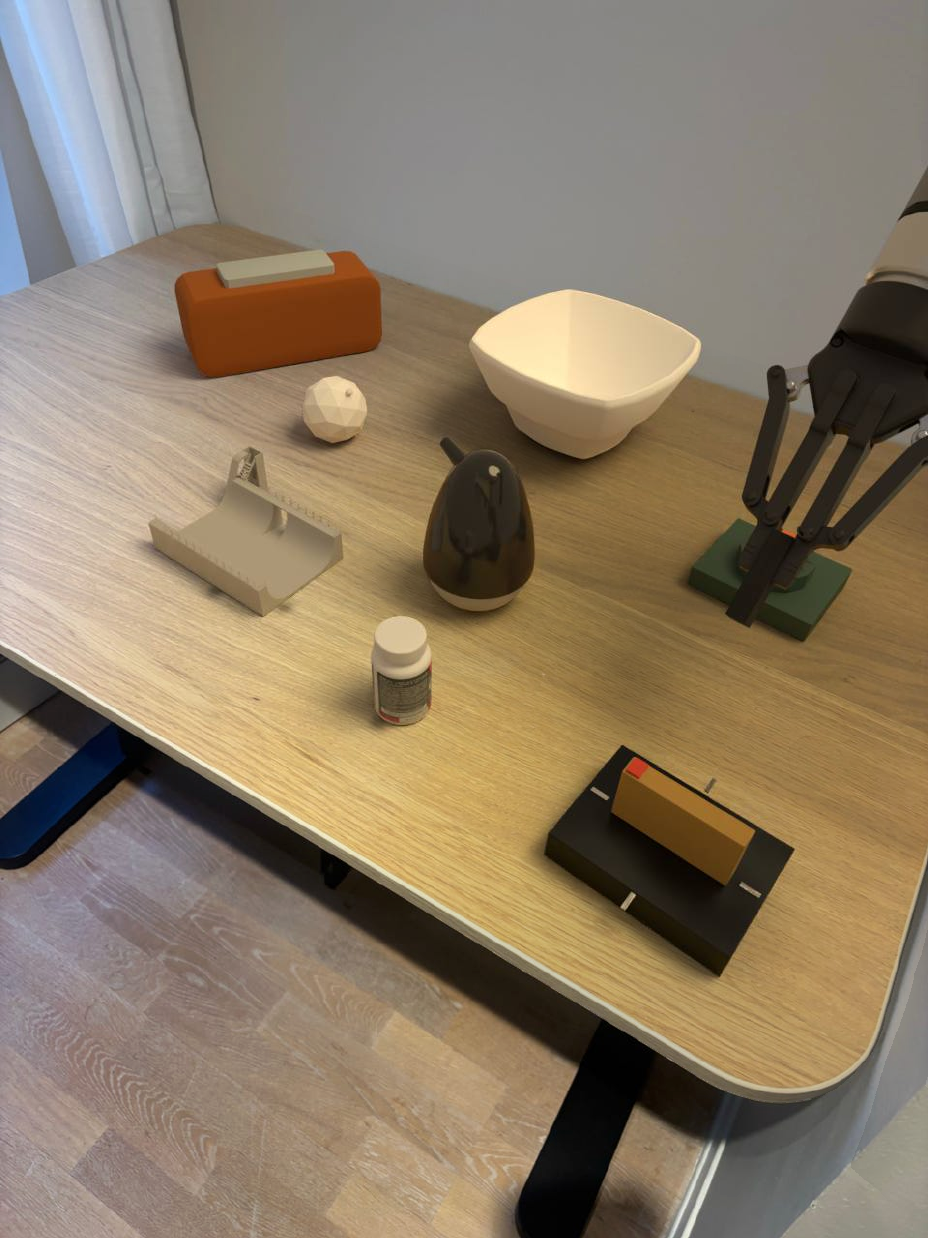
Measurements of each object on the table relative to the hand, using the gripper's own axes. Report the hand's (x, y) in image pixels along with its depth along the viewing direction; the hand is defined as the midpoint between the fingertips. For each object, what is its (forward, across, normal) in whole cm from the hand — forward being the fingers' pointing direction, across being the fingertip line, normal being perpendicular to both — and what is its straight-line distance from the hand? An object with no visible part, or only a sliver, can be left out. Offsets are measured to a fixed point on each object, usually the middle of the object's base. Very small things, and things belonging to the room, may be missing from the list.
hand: (737, 620), depth 60 cm
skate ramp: (+14, +45, -7) cm, 47 cm away
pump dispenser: (+8, +25, -13) cm, 29 cm away
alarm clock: (-6, +72, -27) cm, 77 cm away
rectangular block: (+16, -3, -1) cm, 16 cm away
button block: (-6, +4, -26) cm, 27 cm away
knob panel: (+18, -3, -3) cm, 18 cm away
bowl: (-12, +33, -34) cm, 49 cm away
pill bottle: (+19, +21, -2) cm, 28 cm away
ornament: (+1, +53, -20) cm, 56 cm away
